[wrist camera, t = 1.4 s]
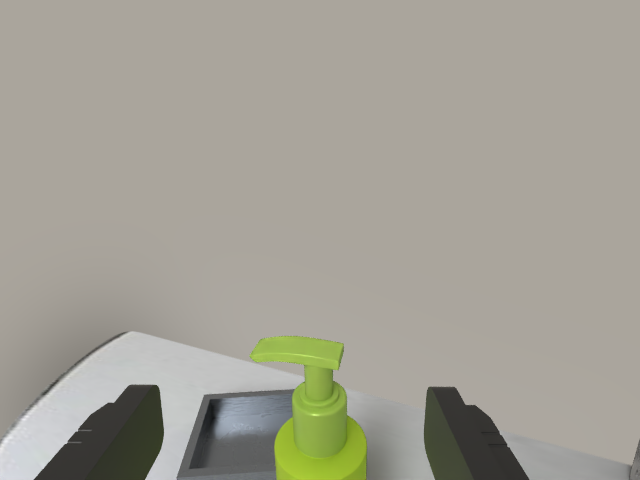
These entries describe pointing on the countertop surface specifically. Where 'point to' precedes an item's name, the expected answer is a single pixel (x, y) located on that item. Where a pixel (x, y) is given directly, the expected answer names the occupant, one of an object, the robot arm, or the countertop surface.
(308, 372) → the soap dispenser
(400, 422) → the countertop surface
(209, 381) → the countertop surface
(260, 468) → the metal tray
